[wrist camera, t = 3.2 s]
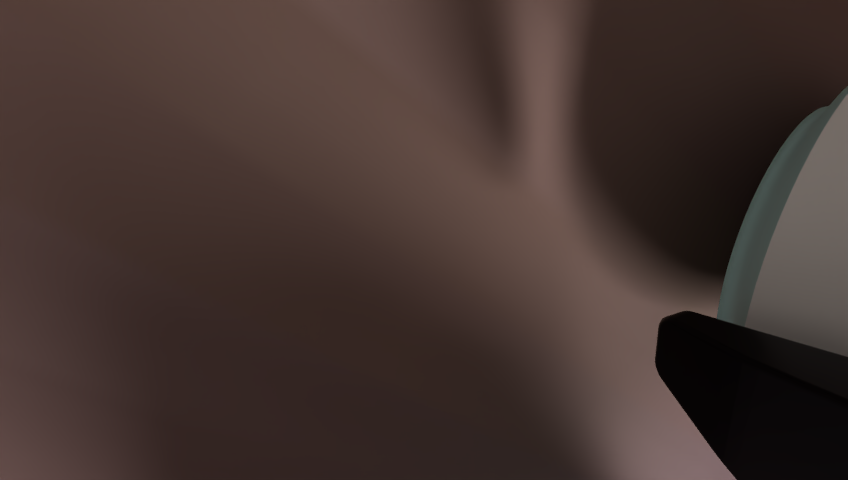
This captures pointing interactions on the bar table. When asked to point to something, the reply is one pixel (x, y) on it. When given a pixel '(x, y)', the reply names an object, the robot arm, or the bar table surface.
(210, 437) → the bar table surface
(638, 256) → the bar table surface
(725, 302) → the can
